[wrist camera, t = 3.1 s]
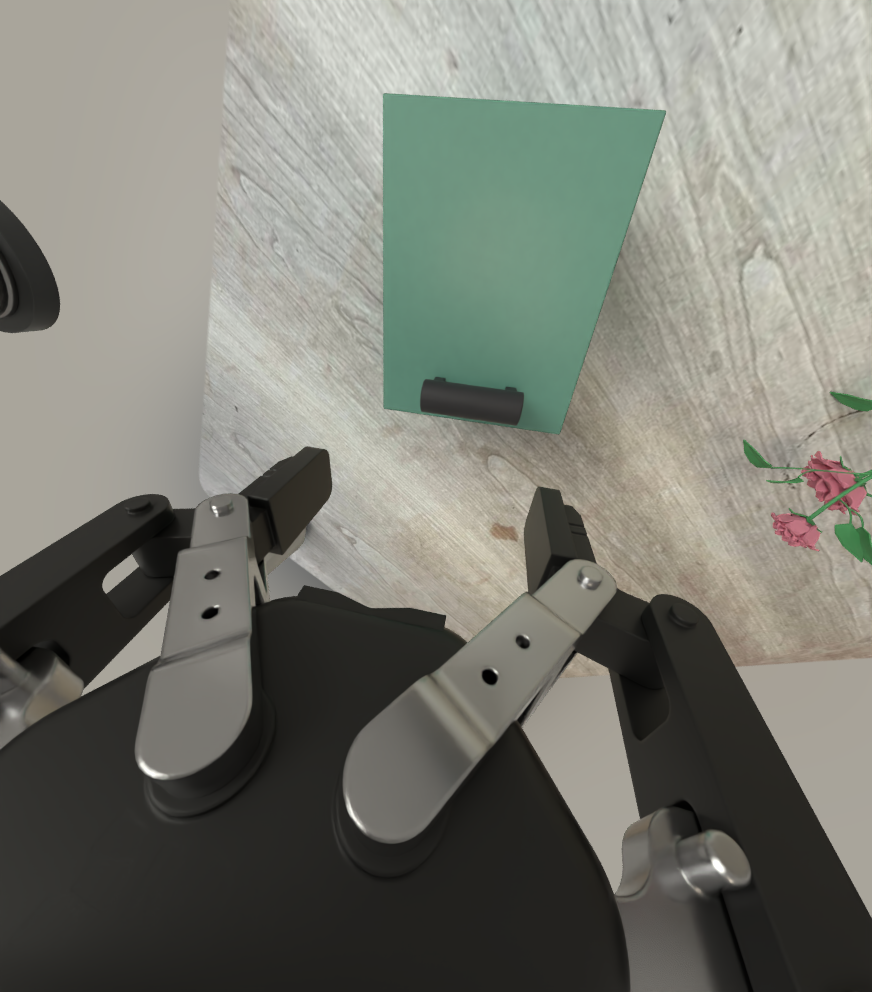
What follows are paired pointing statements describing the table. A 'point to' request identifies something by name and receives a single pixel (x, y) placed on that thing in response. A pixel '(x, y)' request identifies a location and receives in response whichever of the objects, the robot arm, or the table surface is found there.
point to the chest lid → (501, 249)
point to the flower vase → (826, 496)
